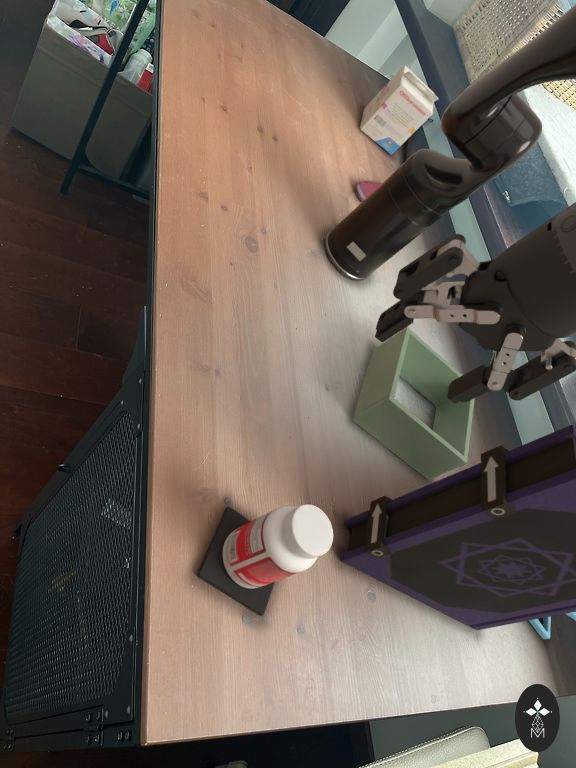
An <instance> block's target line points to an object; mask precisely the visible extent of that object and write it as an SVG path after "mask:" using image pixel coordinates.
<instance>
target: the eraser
mask: <svg viewBox="0 0 576 768" xmlns="http://www.w3.org/2000/svg"><path fill="white" fill-rule="evenodd" d="M382 183H383V182H376V181H369V180H362V181H359V182H358V183H357V184H356V187H355V190H354V191H355V194H356V197H357V198H358V199H359V200H360V201H361V203H362V202H363V201H364V200H365V199H366V198H367V197H368V196H369V195H370V194H371V193H372V192H373V191H375V190H376V189H377V188H378V187H379V186H380V185H381V184H382Z"/></svg>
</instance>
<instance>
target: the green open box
mask: <svg viewBox="0 0 576 768" xmlns="http://www.w3.org/2000/svg"><path fill="white" fill-rule="evenodd" d="M462 375H463V374H462V373H461V372H459V371H458V370H457V369H456V368H455V367H454V366H453V365H451V364H450V363H449V361H447V360H446V359H445V358H444V357H442V355H441V354H439V353H438V352H436V351H435V350H434V349H433V348H432V347H431V346H430V345H429V344H428V343H426V342H425V341H424V340H423V339H422V338H421V337H420V336H419V335H418V334H417V333H416V332H414V331H413V330H411V328H410V327H409V326H407V327H406V328H404V329H403V330H401V331H400V332H398V333H397V334H395V335H394V336H392V337H391V338H389V339H388V340H386V341H385V342H383V343H381V344H378V345H377V347H375V348H373V350H372V353H371V357H370V360H369V363H368V367H367V370H366V373H365V376H364V380H363V384H362V387H361V390H360V393H359V397H358V400H357V404H356V407H355V409H354V414H353V417H352V422H354V423H355V424H356V425H357V426H359V427H360V428H361V429H362V430H364V431H365V432H366V433H368V434H369V435H370V436H372V437H373V438H374V439H375V440H377V442H379V443H380V444H381V445H383V446H384V447H385V448H386V449H388V450H389V451H391V453H393V454H394V455H395V456H397V457H398V458H399V459H400V460H402V461H403V462H404V463H406V464H407V465H408V466H409V467H411V468H412V469H413V470H414V471H416V472H417V473H418V474H420V475H421V476H422V477H423V478H425V479H426V480H428V481H429V480H431V479H433V478H436V477H438V476H441V475H443V474H445V473H447V472H450V471H452V470H455V469H458V468H459V467H462V466H465V465H466V464H468V459H469V458H468V457H469V449H470V442H471V433H472V426H473V425H472V424H473V415H474V408H475V399H476V398H474V399H472V400H470V401H467V402H461V401H459V402H457V403H453V402H452V401H450V400H449V399H448V398H447V395H448V389H449V385H450V383H451V382H452V381H453V380H455V379H457V378H459V377H460V376H462ZM400 378H402V380H404V381H405V382H406V383H408V384H409V385H410V386H411V387H413V389H415V390H416V391H417V392H418V393H419V394H420V395H422V396H423V397H424V398H426V400H428V402H430V403H431V404H433V405H434V406H435V413H434V419H433V424H432V428H430V427H429V425H428V424H426V423H425V422H423V421H422V420H421V419H420V418H419V417H418V416H416V415H415V414H414V413H413V412H411V411H410V410H409V409H407V407H405V406H404V405H403V404H402V403H400V402H399V400H397V399H395V397H396V393H397V389H398V385H399V382H400V381H399V380H400Z"/></svg>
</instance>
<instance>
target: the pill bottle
mask: <svg viewBox="0 0 576 768" xmlns="http://www.w3.org/2000/svg"><path fill="white" fill-rule="evenodd" d="M250 521H251V522H249V523H247V524H245V525H243V526H241V527H240V528H238V529H236V530H234V531H233V532H232V533H231V534H230V535H229V536H228V537H227V539H226V541H225V543H224V547H223V562H224V566H225V568H226V571H227V573H228V574H229V576H230V577H231V578H232V579H233V580H234V581H235V582H236V583H237V584H238V585H240V586H242V587H245V588H258V587H262V586H264V585H267V584H270V583H272V582H277V581H280V580H283V579H285V578H286V579H287V578H289V577H291V576H294V575H297V574H299V573H302V572H304V571H306V570H308V569H309V568H311V567H312V566H314V564H315V562H316V561H317V559H318V558H319V557H321V556H323V555H325V554H326V553H328V552H329V550H330V549H331V547H332V544H333V541H334V530H333V525H332V523H331V520H330V519H329V517H328V515H327V514H326V513H325V512H324V511H323V510H322V509H321V508H319V507H318V506H316V505H314V504H310V503H305V504H302V505H299V506H295V505H283V506H279V507H277V508H274V509H272V510H271V511H268V512H267V513H265V514H263V515H261V516H259V517H257V518H255V519H253V520H250Z"/></svg>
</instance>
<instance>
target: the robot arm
mask: <svg viewBox="0 0 576 768" xmlns="http://www.w3.org/2000/svg"><path fill="white" fill-rule="evenodd" d="M570 80H571V81H573V80H576V3H575V4H574V5H572V7H570V8H569V9H568V10H567V11H565V12H564V13H563V14H562V15H560V17H559V18H557V20H555V21H554V22H552V24H550V25H549V26H548V27H546V28H545V29H544V30H543V31H542V32H540V33H539V34H538V35H536V36H535V37H533V39H531V40H530V41H529V42H527V43H526V44H524V45H523V46H522V47H520V48H519V49H517V50H516V51H514V52H513V53H512V54H510V55H508V56H507V57H506V58H505V59H504V60H502V61H501V62H499V63H498V64H496V65H495V66H494V67H492V68H491V69H489V70H488V71H486V72H485V73H484V74H483V75H481V76H480V77H478V78H477V79H476V80H474V81H473V82H471V83H470V84H469V85H468V86H467V87H465V89H463V91H461V92H460V93H459V94H458V95H457V96H456V97H454V99H453V100H452V101H451V102H450V104H449V105H448V106H447V107H446V109H445V111H444V112H443V114H442V116H441V119H440V128H441V131H442V133H443V135H444V136H445V138H446V139H447V140H448V141H449V142H450V143H451V144H452V146H454V147H455V149H456V150H457V151H458V152H459V153H460V154H461V155H462V156H463V157H464V158H457V157H452V156H449V155H446V154H443V153H441V152H438V151H437V150H434V149H431V148H421V149H418V150H417V151H415V152H414V153H413V154H412V155H411V156H409V155H410V148H411V147H410V146H411V142H412V138H413V135H414V133H413V134H412V135H411V136H410V137H409V138H408V139H407V140H406V145H405V152H404V153H405V154H404V162H403V163H402V164H401V165H399V167H398V168H397V169H396V170H394V171H393V173H391V174H390V176H388V177H387V178H386V179H385V180H384V181H383V182H381V183H382V184H381V185H380V186H379V187H378V188H377V189H376V190H375V191H373V192H372V193H371V194H370V195H369V196H368V197H367V198H366V199H365V200H364V201H363V202H362V201H361V203H360V204H358V205H357V206H356V207H355V208H354V209H353V210H351V212H350V213H349V214H348V215H346V217H344V218H342V220H341V221H340V222H339V223H338V224H337V225H336V226H335V227H333V228H332V229H330V230H329V231H328V232H327V233H326V234H325V237H324V240H323V245H324V250H325V253H326V255H327V257H328V259H329V261H330V263H331V264H332V265H333V266H334V268H335V269H336V270H337V271H338V272H339V273H341V274H342V275H343V276H344V277H345V278H347V279H350V280H351V281H355V282H362V281H364V280H366V279H368V278H369V277H370V276H371V275H372V274H373V273H374V272H375V271H377V270H378V269H379V268H380V267H381V266H383V265H384V264H385V263H386V262H388V261H389V260H390V259H392V258H393V257H394V256H395V255H396V254H398V253H399V252H400V251H401V250H403V249H405V247H407V246H408V245H409V244H411V242H413V241H414V240H415V239H417V237H419V236H420V235H421V234H422V233H424V232H425V231H426V230H428V229H429V228H430V227H432V226H433V224H435V223H436V222H437V221H439V220H440V219H441V218H442V217H444V216H445V215H446V214H447V213H449V212H450V211H451V210H452V209H454V208H455V207H457V206H459V205H460V204H462V203H463V202H465V201H466V200H467V199H468V198H470V197H471V196H472V195H474V194H475V193H477V192H478V191H479V190H481V189H482V188H484V186H486V185H488V184H489V183H490V182H491V181H493V180H494V179H496V178H497V177H499V176H501V175H502V174H503V173H504V172H506V171H507V170H508V169H510V168H511V167H513V166H515V164H516V163H517V162H519V161H520V160H521V159H522V158H524V156H526V155H527V154H528V153H529V152H530V150H532V148H534V146H535V145H536V144H537V142H538V140H539V138H540V136H541V134H542V132H543V123H542V121H541V119H540V117H539V116H538V115H537V114H536V112H535V111H534V110H533V109H532V108H531V107H530V106H529V104H527V102H526V101H525V100H524V99H523V98H522V96H520V95H519V94H518V93H520V92H522V91H525V90H527V89H530V88H532V87H535V86H538V85H542V84H546V83H552V82H559V81H570ZM428 119H429V118H428ZM428 119H427V120H426V121H425V122H427V121H429V120H428ZM466 244H467V240H466V237H465V236H464V235H463V234H460V233H454V234H451V235H450V236H449V237H447V238H446V239H444V240H442V241H440V242H439V243H438V244H437V245H435V246H434V247H432V248H431V249H429V250H428V251H426V252H425V253H423V254H421V255H420V256H418V257H417V258H416V259H414V260H413V261H411V262H409V263H408V264H407V265H405V266H404V267H402V268H401V269H399V271H398V274H397V279H396V283H395V285H394V287H393V290H392V294H393V296H394V298H396V299H397V300H398V301H397V302H396V303H394V304H392V305H391V306H390V307H388V308H387V309H386V310H384V311H383V312H381V313H380V314H379V316H378V319H377V323H376V326H375V330H376V331H375V333H374V338H375V339H376V340H377V341H379V342H380V343H381V344H382V343H384V342H385V341H387V340H388V339H390V338H391V337H393V336H394V335H395V334H397V333H398V332H400V331H401V330H403V329H404V328H406V327H409V326H411V325H412V324H413V323H414V320H415V319H434V320H436V322H438V323H458V327H459V328H460V329H461V330H462V331H464V332H465V333H466V334H468V335H470V336H472V337H474V339H475V340H476V342H477V343H478V346H480V347H481V348H482V349H483V350H484V351H487V350H491V351H493V354H492V356H491V359H490V361H489V366H487V365H486V364H485V363H483V364H481V365H479V366H477V367H476V368H475V367H474V369H472V370H470V371H467V372H466V373H464V374H462V376H460V377H459V378H457V379H455V380H453V381H452V382H451V383H450V385H449V389H448V395H447V398H448V399H449V400H450V401H452V402H453V403H457V402H459V401H461V402H467V401H470V400H472V399H474V398H475V399H476V398H478V397H481V396H483V395H484V394H486V393H489V392H490V391H493V392H498V391H503V392H505V393H506V394H508V397H509V399H510V400H512V401H515V402H516V401H521V400H524V399H526V398H527V397H529V396H532V395H534V394H535V393H537V392H539V391H541V390H542V389H545V388H547V387H549V386H551V385H552V384H554V383H556V382H558V381H560V380H562V379H564V378H565V377H568V376H569V375H571V374H573V373H575V372H576V342H575V341H573V340H564V341H563V340H561V339H564V338H565V339H566V338H568V337H571V336H572V335H575V334H576V201H575V202H573V203H571V204H570V205H569V206H567V207H566V208H565V209H563V210H562V211H560V212H558V213H557V214H556V215H554V216H552V217H551V218H549V219H548V220H546V221H545V222H544V223H542V224H541V225H539V226H538V227H536V228H535V229H533V230H532V231H530V232H529V233H527V234H526V235H525V236H523V237H522V238H519V240H517V241H515V242H514V243H513V244H511V245H509V246H508V247H507V248H505V249H504V251H502V252H501V253H500V254H499V255H497V256H496V257H494V258H492V259H489V260H484V261H479V260H478V259H477V258H476V257H475V256H474V255H473V254H472V253H471V252H470V251H469V250H468V248H467V247H466ZM456 275H464V276H465V280H464V281H462V280H460V281H458V280H457V281H444V282H441V283H440V284H439V285H431V284H433V283H434V282H436V281H437V280H439V279H441V278H442V277H444V276H445V277H446V278H448V279H451V278H453V276H456ZM455 299H459V300H458V304H451V301H453V300H455ZM518 352H540V354H539V355H538V356H537V355H536V357H534V358H532V359H530V360H529V361H527V362H525V363H523V364H522V365H520V366H518V367H517V368H514V369H512V368H513V365H514V363H515V360H516V357H517V355H518Z"/></svg>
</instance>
